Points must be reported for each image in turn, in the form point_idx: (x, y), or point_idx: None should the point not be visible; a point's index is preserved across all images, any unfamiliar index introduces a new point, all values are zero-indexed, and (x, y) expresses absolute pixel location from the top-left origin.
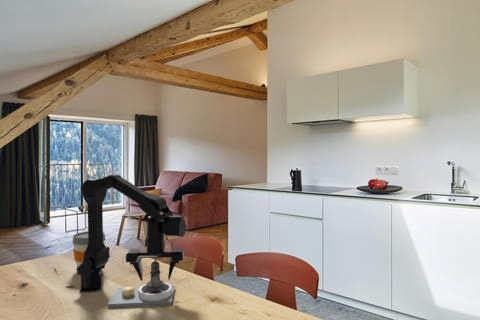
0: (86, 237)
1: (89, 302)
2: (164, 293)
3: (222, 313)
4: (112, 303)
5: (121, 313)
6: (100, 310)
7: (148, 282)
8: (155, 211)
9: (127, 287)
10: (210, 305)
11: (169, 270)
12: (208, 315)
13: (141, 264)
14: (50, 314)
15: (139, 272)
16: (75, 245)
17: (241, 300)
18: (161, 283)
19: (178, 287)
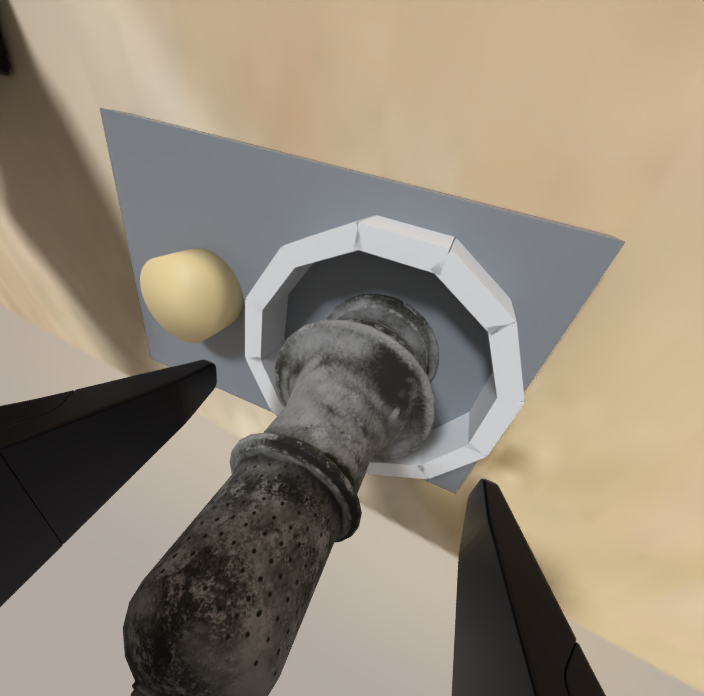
0: None
1: (69, 251)
2: (416, 474)
3: (681, 666)
4: (167, 362)
5: (232, 421)
6: (149, 357)
7: (287, 361)
8: None
9: (161, 268)
10: (693, 598)
11: (459, 687)
12: (592, 631)
13: (2, 450)
14: (15, 308)
15: (120, 472)
16: None
17: None
18: (399, 445)
19: (690, 199)
